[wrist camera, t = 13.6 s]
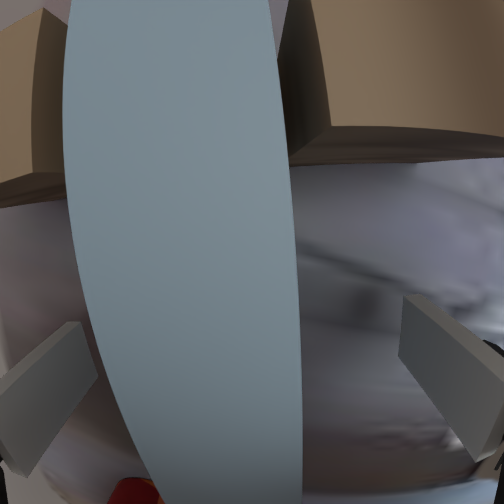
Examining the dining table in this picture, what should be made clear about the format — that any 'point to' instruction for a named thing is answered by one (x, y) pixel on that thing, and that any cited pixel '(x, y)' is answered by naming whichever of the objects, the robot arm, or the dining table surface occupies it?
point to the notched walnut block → (302, 88)
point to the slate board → (188, 239)
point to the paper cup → (135, 492)
